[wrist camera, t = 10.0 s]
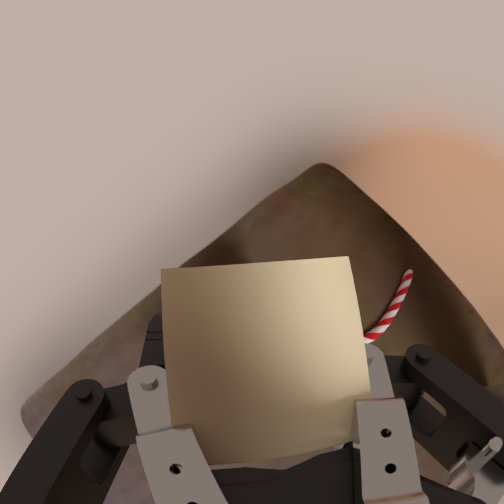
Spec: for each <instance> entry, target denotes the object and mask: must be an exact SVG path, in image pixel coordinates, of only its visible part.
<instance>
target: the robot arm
mask: <svg viewBox="0 0 504 504" xmlns="http://www.w3.org/2000/svg"><path fill="white" fill-rule="evenodd" d="M365 350H366V357H367V365H368V373H369V381H370V390H371V398H370V399H355V400H354V409H353V417H352V425H351V432H350V436H351V438H352V441H350V442H347V443H343V444H340V445H336V446H332V447H331V451H330V452H328V453H324V454H320V455H317V456H315V457H313V458H311V459H309V460H307V461H304V462H302V463H300V464H298V465H295V466H293V467H291V468H288V469H285V470H275V469H259V468H248V467H243V468H232V469H218V470H210V468H209V466H208V464H207V462H206V460H205V458H204V455H203V453H202V451H201V449H200V447H199V445H198V442H197V440H196V438H195V436H194V433H193V431H192V429H191V426H190V424H189V423H187V424H183V425H178V426H173V427H172V425H171V418H170V409H169V401H168V392H167V382H166V370H165V358H164V343H163V325H162V315H155V316H154V318H153V319H152V320H151V321H150V322H149V325H148V329H147V334H146V338H145V342H144V347H143V351H142V356H141V361H140V366H139V368H138V369H136V370H135V371H134V372H132V373H131V374H130V376H129V378H128V381H127V383H124V384H122V385H118V386H114V387H110V388H105V389H104V388H103V387H102V385H101V384H100V383H99V382H97V381H95V380H91V379H84V380H80V381H77V382H75V383H74V384H72V385H71V386H70V387H69V388H68V390H67V391H66V392H65V394H64V395H63V397H62V398H61V399H60V401H59V402H58V404H57V405H56V406H55V408H54V409H53V411H52V412H51V414H50V415H49V416H48V418H47V419H46V421H45V422H44V424H43V425H42V427H41V428H40V430H39V431H38V433H37V434H36V436H35V437H34V439H33V440H32V442H31V443H30V445H29V446H28V448H27V449H26V451H25V453H24V454H23V456H22V457H21V459H20V460H19V462H18V464H17V465H16V467H15V469H14V470H13V472H12V473H11V475H10V477H9V478H8V480H7V482H6V483H5V485H4V487H3V489H2V491H1V492H0V504H103V502H104V500H105V497H106V495H107V493H108V491H109V489H110V486H111V484H112V482H113V480H114V478H115V476H116V473H117V471H118V469H119V467H120V465H121V463H122V461H123V459H124V456H125V454H126V452H127V450H128V448H129V446H130V445H131V444H135V443H137V446H138V450H139V453H140V457H141V460H142V464H143V467H144V470H145V474H146V477H147V480H148V483H149V486H150V489H151V492H152V495H153V498H154V500H155V503H156V504H497V503H498V502H499V501H500V499H501V498H502V496H503V495H504V385H493V386H482V385H481V384H479V383H478V382H477V381H475V380H474V379H473V378H471V377H470V376H469V375H467V374H466V373H465V372H463V371H462V370H461V369H459V368H458V367H457V366H455V365H454V364H453V363H451V362H450V361H449V360H447V359H446V358H445V357H443V356H442V355H441V354H439V353H438V352H437V351H435V350H434V349H433V348H431V347H429V346H426V345H422V344H416V345H412V346H410V347H409V348H408V349H407V350H406V353H405V355H404V356H385V355H384V354H383V353H382V351H381V350H380V349H379V348H377V347H376V346H374V345H371V344H367V343H365ZM425 391H426V392H427V393H428V394H429V395H430V396H431V397H433V398H434V399H435V400H436V401H437V402H439V403H440V404H441V405H442V406H443V407H444V408H445V410H446V414H447V415H446V416H444V415H443V414H442V413H440V412H439V411H438V410H437V409H436V408H435V407H433V406H432V405H431V404H430V403H429V402H428V401H426V400H425V399H424V398H423V397H422V396H423V394H424V392H425ZM413 438H414V439H415V440H416V441H417V442H418V443H419V444H420V445H421V446H422V447H423V448H424V449H426V450H427V451H428V452H429V453H430V454H431V455H432V456H433V457H434V458H435V459H436V460H437V461H438V462H439V463H440V464H442V465H443V466H444V467H445V468H446V469H447V470H448V471H449V476H450V478H449V480H448V486H449V487H450V488H449V487H447V486H444V485H442V484H439V483H437V482H434V481H432V480H430V479H427V478H425V477H423V476H421V475H419V469H418V463H417V457H416V452H415V446H414V441H413ZM454 489H456V490H454Z"/></svg>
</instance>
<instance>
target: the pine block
mask: <svg viewBox="0 0 504 504" xmlns="http://www.w3.org/2000/svg"><path fill="white" fill-rule="evenodd" d="M161 299H162V325H163V343H164V358H165V370H166V382H167V392H168V401H169V409H170V418H171V425H172V427H173V426H178V425H183V424H187V423H189V424H190V426H191V429H192V431H193V433H194V436H195V438H196V440H197V442H198V445H199V447H200V449H201V451H202V453H203V455H204V458H205V460H206V462H207V464H208V465H217V464H231V463H242V462H251V461H259V460H267V459H273V458H280V457H286V456H291V455H296V454H301V453H306V452H311V451H315V450H320V449H324V448H328V447H332V446H336V445H340V444H343V443H347V442H350V441H352V438H351V436H350V432H351V425H352V417H353V409H354V400H355V399H370V398H371V390H370V381H369V373H368V365H367V357H366V350H365V343H364V337H363V330H362V324H361V318H360V313H359V307H358V301H357V296H356V291H355V286H354V281H353V276H352V271H351V266H350V262H349V257H348V256H345V257H332V258H319V259H305V260H292V261H278V262H264V263H249V264H234V265H219V266H204V267H188V268H172V269H161Z"/></svg>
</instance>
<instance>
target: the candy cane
mask: <svg viewBox="0 0 504 504" xmlns="http://www.w3.org/2000/svg"><path fill="white" fill-rule="evenodd" d="M412 277H413V271H412V270H410V269H408V270H406V272H405V274H404V276H403V279H402V281H401V284H400V286H399V288H398V291H397V293H396V295H395V297H394V299H393V301H392V302H391V304H390V306H389V308H388V309H387V311H386V313H385V314H384V316H383V317H382V319H381V320H380V321H379V323H378V324H377V325H376V326H375V327H374V328H373V329H372V330H370V331H369V332H368V333H366V334H364V335H363V337H364V343H367V344H368V343H370V342H372V341H373V340H375V339H376V338H377V337H379V336H380V335H381V334H382V333H383V332H384V331H385V330H386V328H387V327H388V326H389V324H390V323H391V321H392V320H393V318H394V317H395V315H396V313H397V311H398V310H399V308H400V306H401V304H402V302H403V300H404V298H405V296H406V293H407V291H408V288H409V286H410V283H411V280H412Z"/></svg>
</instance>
